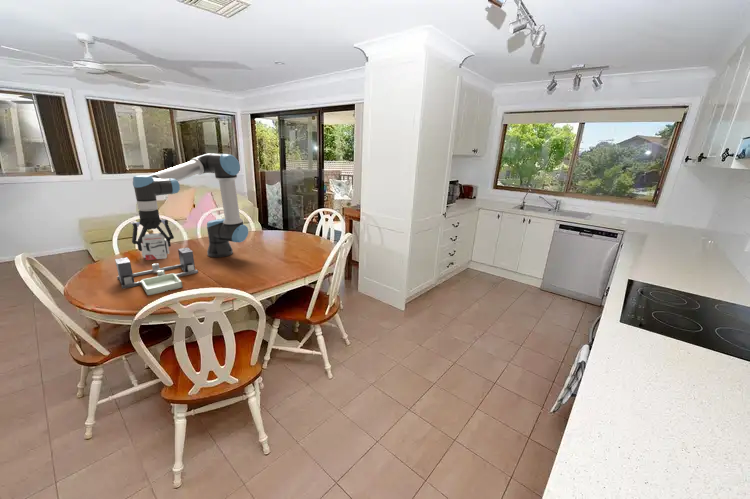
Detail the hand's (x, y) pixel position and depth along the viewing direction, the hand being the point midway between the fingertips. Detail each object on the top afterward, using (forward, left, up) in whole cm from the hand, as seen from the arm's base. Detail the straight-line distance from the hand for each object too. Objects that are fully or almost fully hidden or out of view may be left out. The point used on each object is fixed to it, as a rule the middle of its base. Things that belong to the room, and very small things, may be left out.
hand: (156, 254), depth 151 cm
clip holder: (-2, -16, -17) cm, 24 cm away
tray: (0, 0, -17) cm, 17 cm away
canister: (-7, -52, -17) cm, 55 cm away
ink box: (0, 0, -2) cm, 2 cm away
